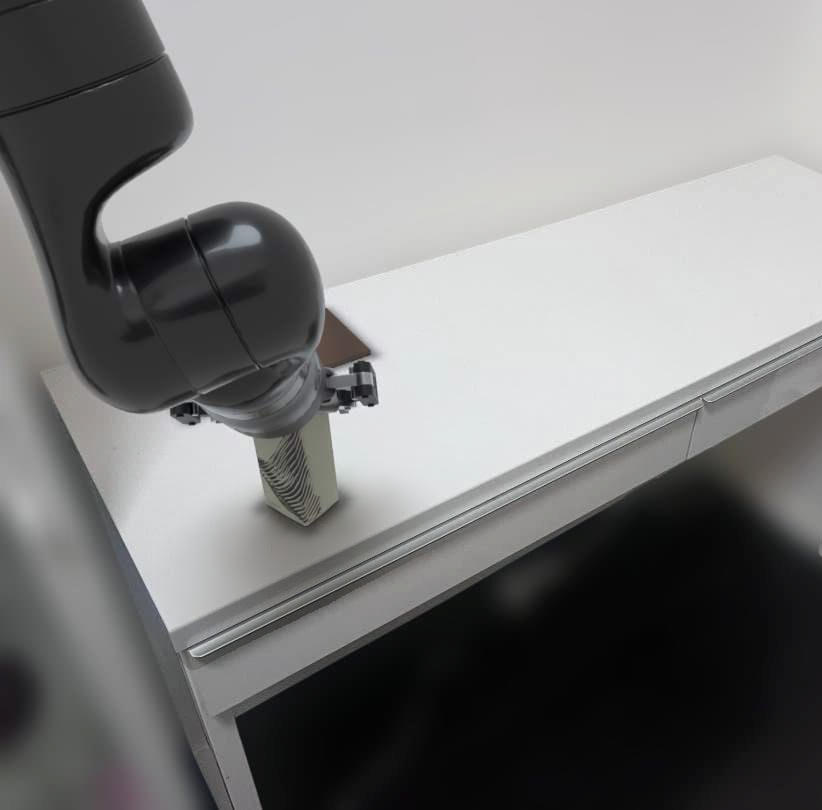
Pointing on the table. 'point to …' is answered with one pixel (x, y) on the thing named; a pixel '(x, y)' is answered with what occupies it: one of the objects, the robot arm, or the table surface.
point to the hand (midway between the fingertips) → (290, 406)
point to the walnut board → (339, 343)
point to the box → (299, 471)
